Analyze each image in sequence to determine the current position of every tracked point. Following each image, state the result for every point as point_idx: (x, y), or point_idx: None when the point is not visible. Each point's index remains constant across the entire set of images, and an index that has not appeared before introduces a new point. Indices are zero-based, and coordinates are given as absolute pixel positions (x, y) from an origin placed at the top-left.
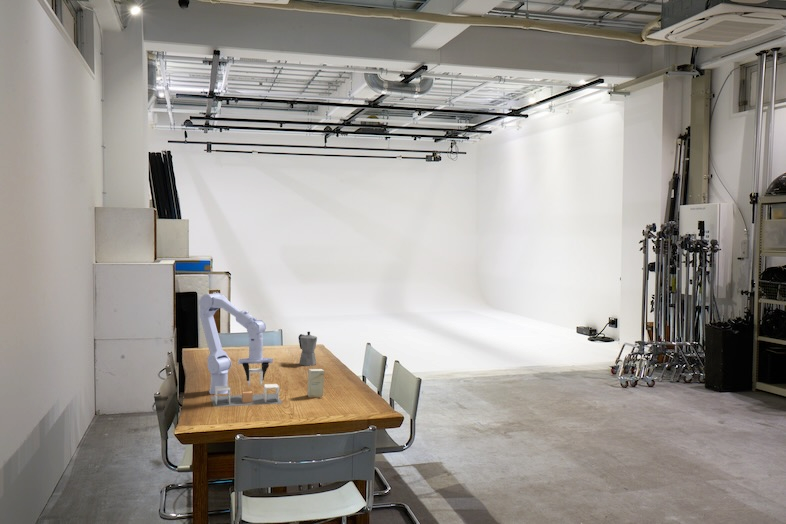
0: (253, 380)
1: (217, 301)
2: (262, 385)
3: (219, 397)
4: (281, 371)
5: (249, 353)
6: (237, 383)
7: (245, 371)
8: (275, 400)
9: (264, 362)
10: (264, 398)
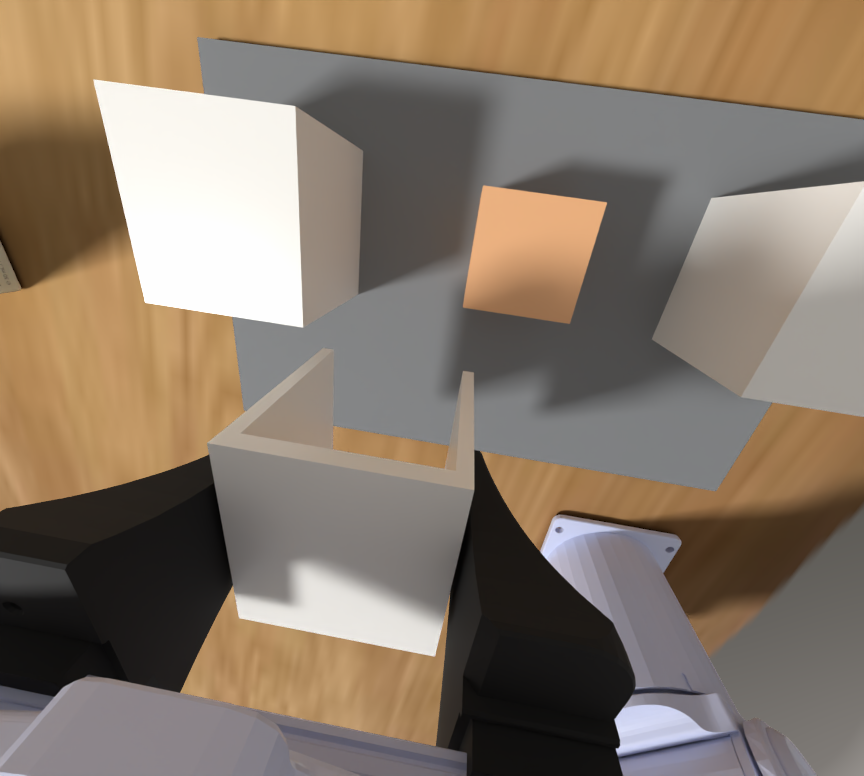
0: (340, 679)
1: None
2: (322, 349)
3: (671, 448)
4: None
5: None
6: (426, 668)
7: (534, 547)
8: None
9: (29, 688)
10: (354, 226)
